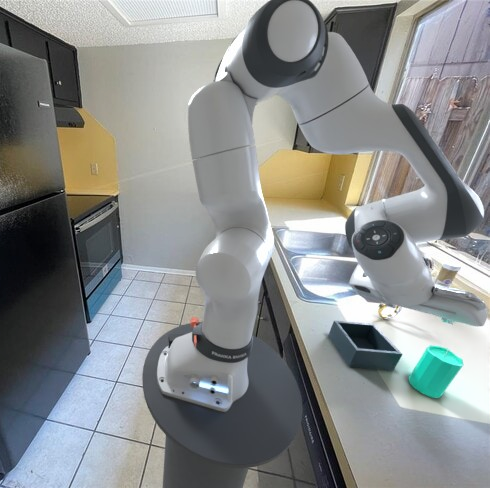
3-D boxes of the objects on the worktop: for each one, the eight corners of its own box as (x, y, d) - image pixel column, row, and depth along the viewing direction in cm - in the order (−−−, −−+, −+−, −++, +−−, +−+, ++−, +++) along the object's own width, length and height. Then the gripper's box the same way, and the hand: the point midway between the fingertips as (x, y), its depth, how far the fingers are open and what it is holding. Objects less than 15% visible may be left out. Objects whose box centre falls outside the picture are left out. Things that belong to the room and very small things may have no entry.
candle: (427, 399, 59) (453, 362, 55) (402, 377, 65) (423, 341, 60) (448, 396, 60) (475, 359, 55) (421, 374, 66) (444, 338, 61)
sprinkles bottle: (434, 297, 98) (452, 266, 93) (424, 290, 102) (440, 260, 97) (447, 298, 98) (465, 267, 93) (436, 291, 102) (453, 261, 97)
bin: (349, 366, 67) (356, 350, 65) (328, 335, 77) (333, 320, 75) (393, 370, 66) (402, 354, 64) (366, 339, 77) (373, 323, 74)
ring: (391, 315, 87) (401, 296, 84) (399, 322, 84) (409, 302, 81) (370, 314, 87) (379, 294, 84) (377, 320, 84) (386, 300, 81)
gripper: (489, 282, 42) (498, 317, 49) (352, 259, 60) (371, 287, 66) (477, 315, 41) (487, 347, 47) (340, 282, 59) (361, 308, 65)
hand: (419, 311), depth 57 cm, fingers open, 8 cm apart
